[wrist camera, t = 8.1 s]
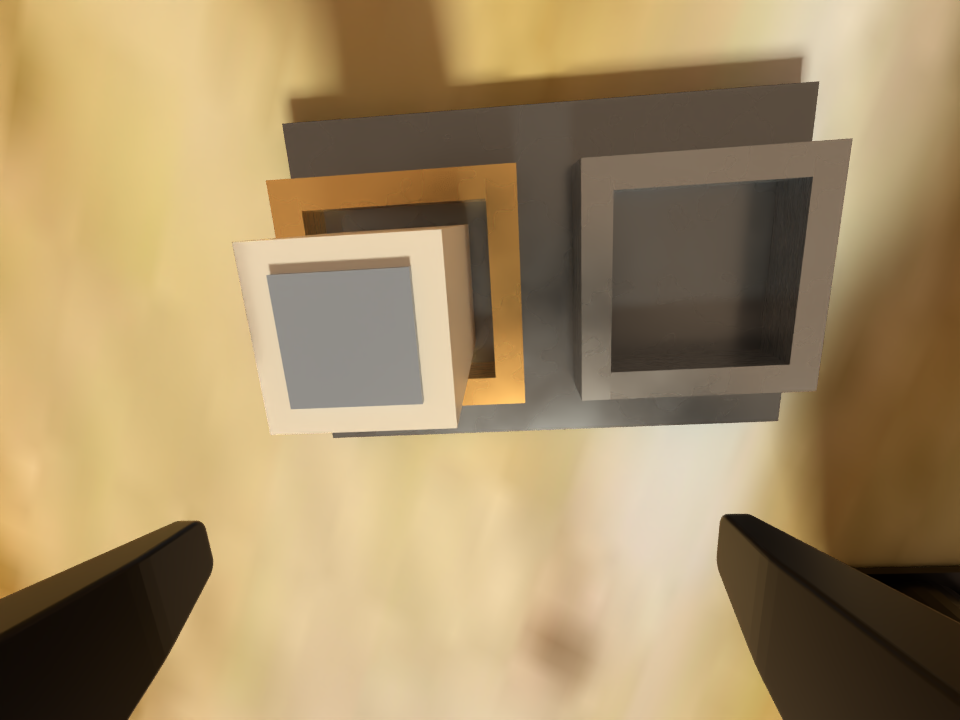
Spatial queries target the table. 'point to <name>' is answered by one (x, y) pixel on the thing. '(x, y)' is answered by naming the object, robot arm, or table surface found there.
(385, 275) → the plug
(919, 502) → the table surface
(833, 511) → the table surface
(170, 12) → the table surface
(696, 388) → the panel
